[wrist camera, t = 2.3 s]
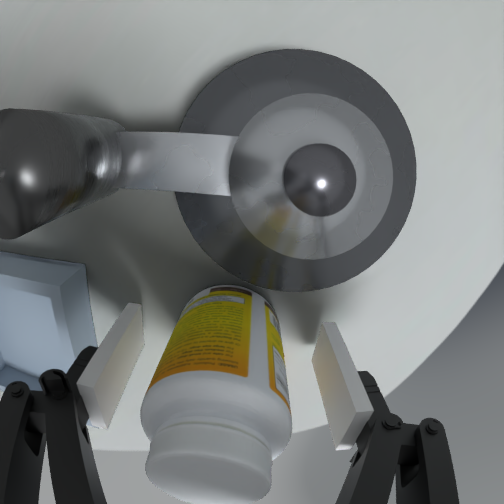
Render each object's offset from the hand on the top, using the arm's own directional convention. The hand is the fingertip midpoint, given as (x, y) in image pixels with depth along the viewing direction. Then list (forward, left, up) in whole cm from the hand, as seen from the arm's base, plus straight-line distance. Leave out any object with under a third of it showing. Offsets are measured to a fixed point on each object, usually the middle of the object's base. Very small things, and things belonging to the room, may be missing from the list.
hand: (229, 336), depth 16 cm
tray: (-15, -3, -1) cm, 15 cm away
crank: (-2, +9, +1) cm, 9 cm away
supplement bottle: (0, 0, -1) cm, 1 cm away
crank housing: (+2, +9, -1) cm, 9 cm away
